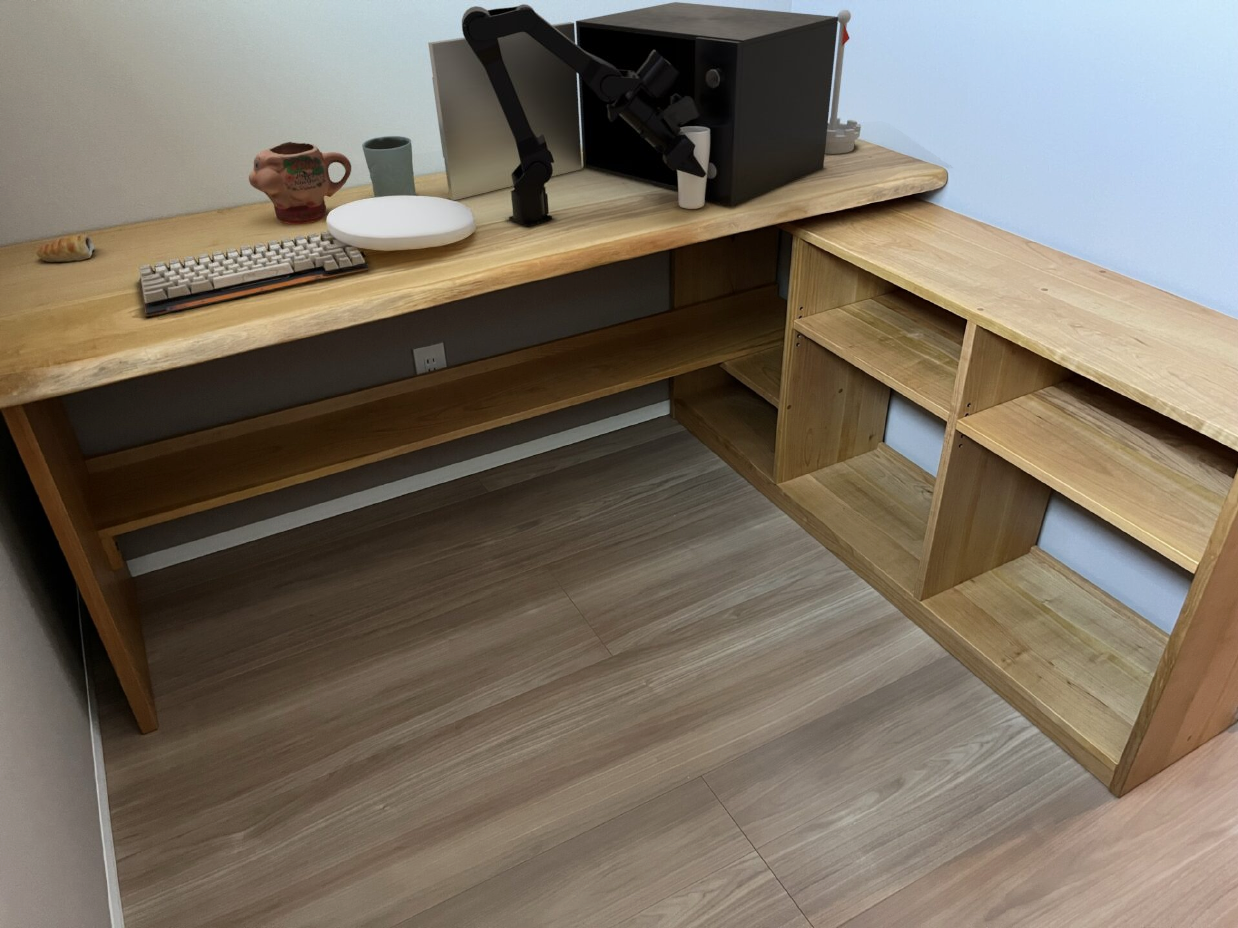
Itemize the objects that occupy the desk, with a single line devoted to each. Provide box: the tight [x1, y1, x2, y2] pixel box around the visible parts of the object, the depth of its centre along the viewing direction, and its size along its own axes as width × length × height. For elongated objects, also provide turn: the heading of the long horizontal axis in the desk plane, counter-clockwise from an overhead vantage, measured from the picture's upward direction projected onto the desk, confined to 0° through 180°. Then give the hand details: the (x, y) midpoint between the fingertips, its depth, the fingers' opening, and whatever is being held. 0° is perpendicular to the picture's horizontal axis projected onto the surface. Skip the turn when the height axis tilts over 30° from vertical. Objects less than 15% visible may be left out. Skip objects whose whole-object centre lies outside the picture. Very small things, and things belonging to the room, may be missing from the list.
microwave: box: [575, 1, 839, 208], centre depth 195 cm, size 35×44×31 cm
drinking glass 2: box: [677, 126, 710, 210], centre depth 179 cm, size 7×7×15 cm
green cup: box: [361, 135, 417, 198], centre depth 189 cm, size 10×10×12 cm
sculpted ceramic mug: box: [248, 141, 352, 225], centre depth 181 cm, size 20×12×14 cm, turn 117°
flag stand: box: [825, 9, 862, 155], centre depth 207 cm, size 13×13×30 cm
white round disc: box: [326, 195, 477, 252], centre depth 169 cm, size 28×6×27 cm
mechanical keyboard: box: [138, 229, 370, 318], centre depth 158 cm, size 38×19×3 cm, turn 118°
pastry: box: [35, 233, 95, 263], centre depth 168 cm, size 9×7×4 cm
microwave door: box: [427, 21, 583, 201], centre depth 192 cm, size 7×34×31 cm, turn 127°
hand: (700, 170), depth 179 cm, fingers closed on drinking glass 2, 7 cm apart
